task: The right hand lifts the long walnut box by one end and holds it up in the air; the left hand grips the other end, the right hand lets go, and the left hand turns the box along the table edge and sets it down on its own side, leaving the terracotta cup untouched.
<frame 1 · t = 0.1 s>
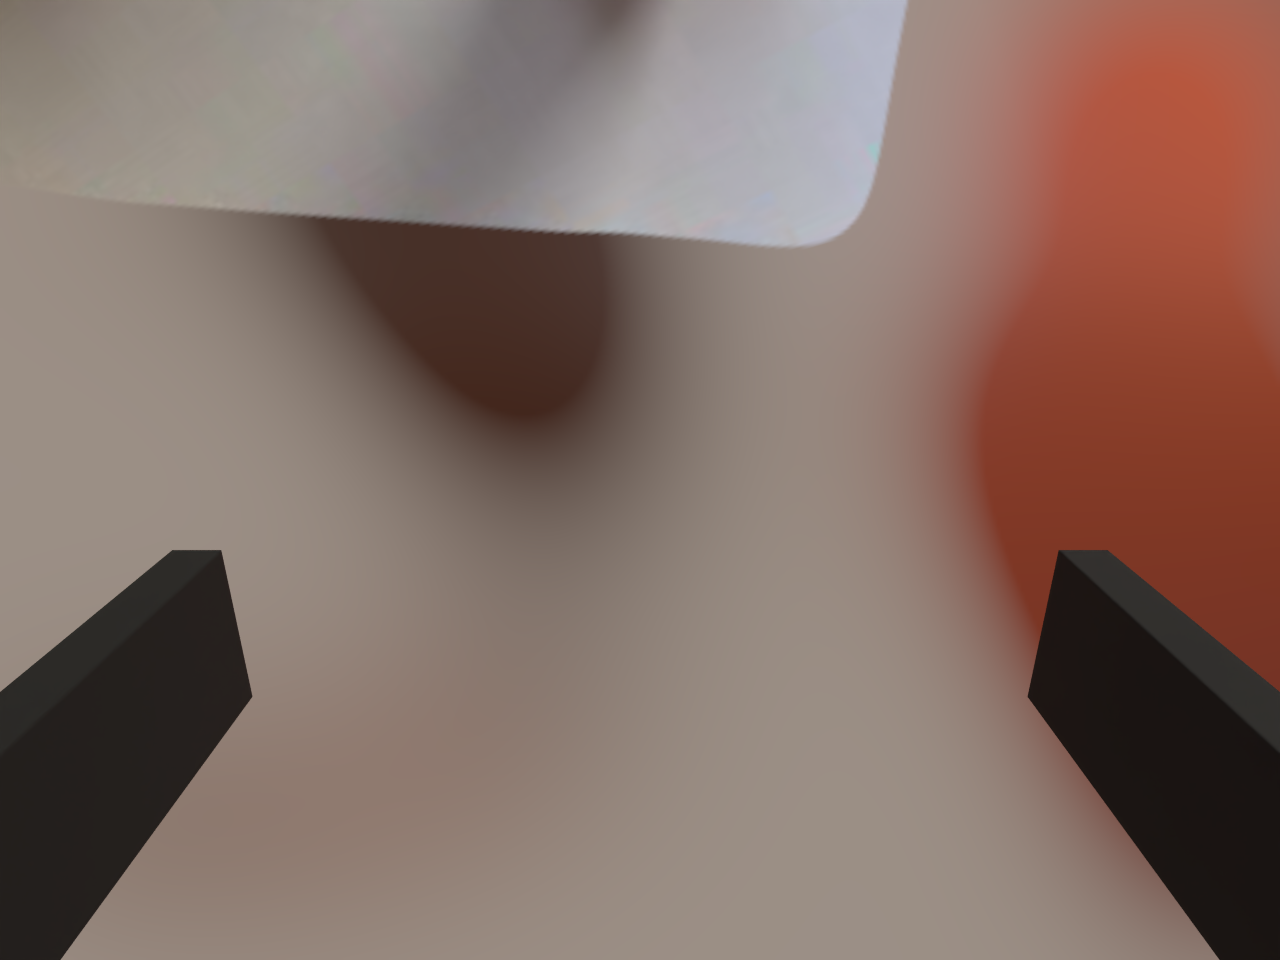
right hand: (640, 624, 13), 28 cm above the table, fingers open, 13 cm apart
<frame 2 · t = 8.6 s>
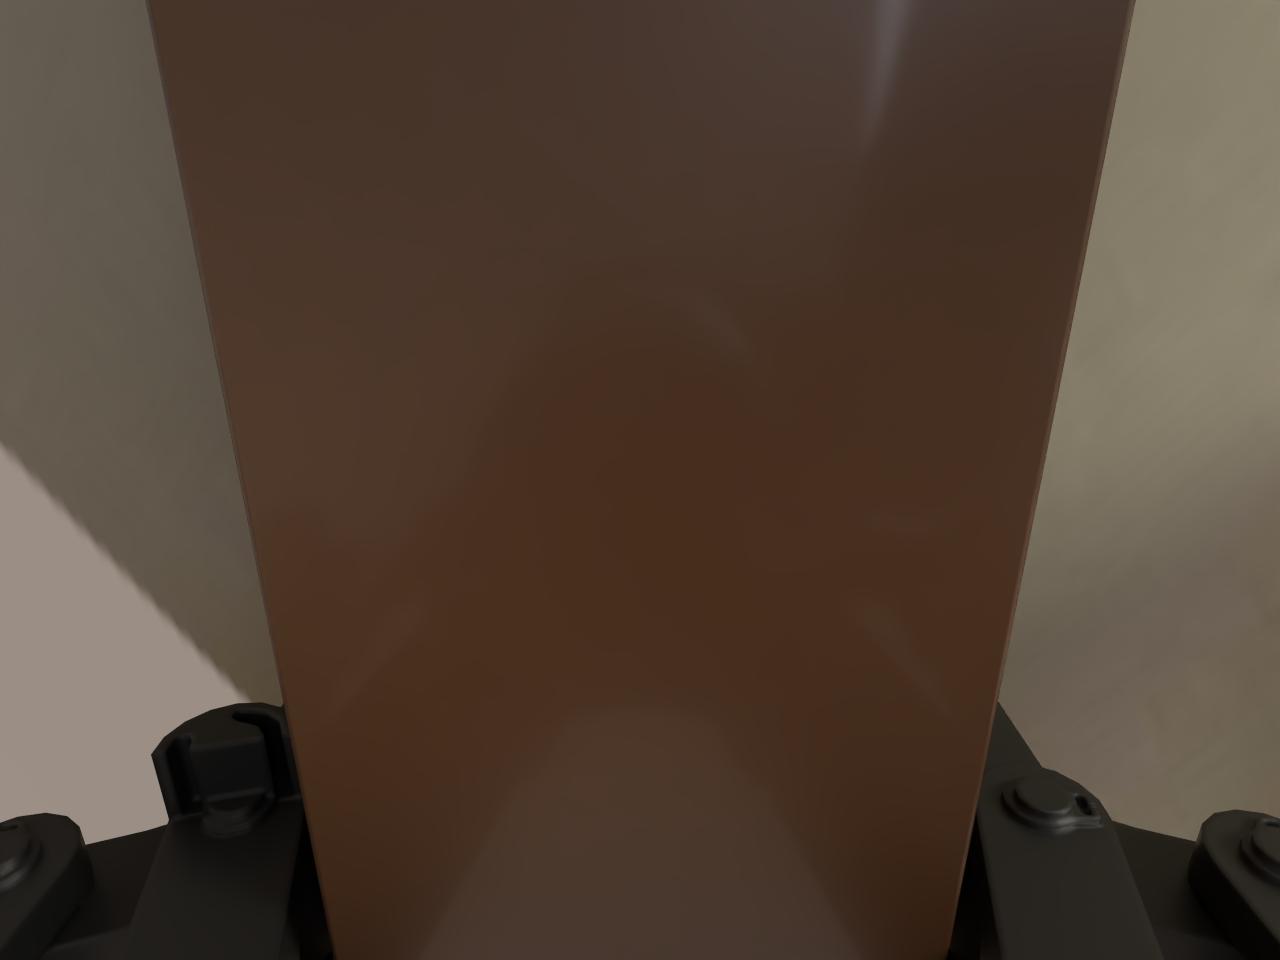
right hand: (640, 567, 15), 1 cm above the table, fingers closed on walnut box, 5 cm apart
walnut box: (640, 47, 12), on the table, touching right hand
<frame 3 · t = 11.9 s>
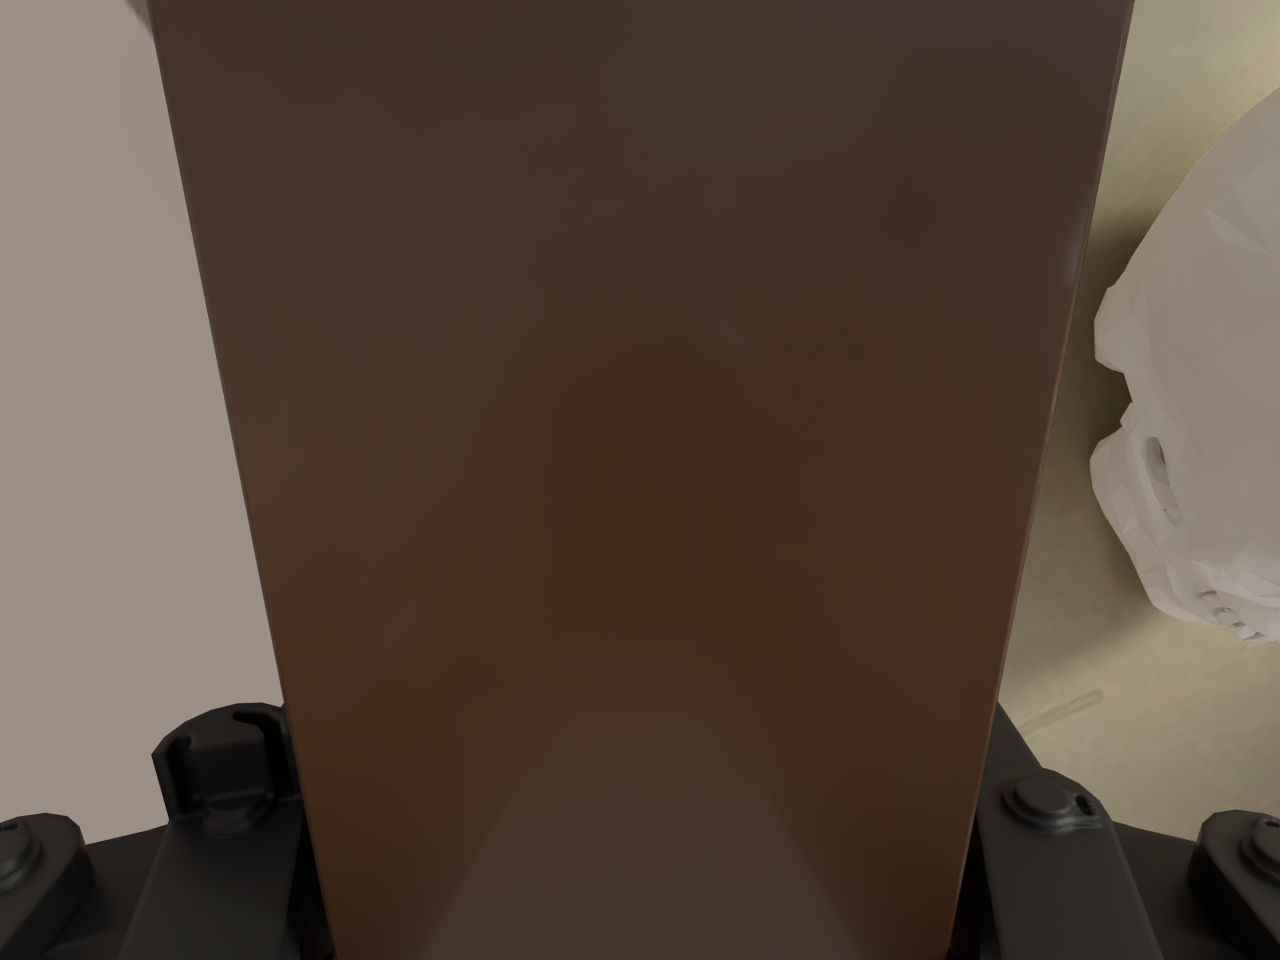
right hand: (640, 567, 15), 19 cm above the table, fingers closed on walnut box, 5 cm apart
skull: (1209, 358, 32), on the table
walnut box: (640, 47, 12), point 18 cm above the table, touching right hand
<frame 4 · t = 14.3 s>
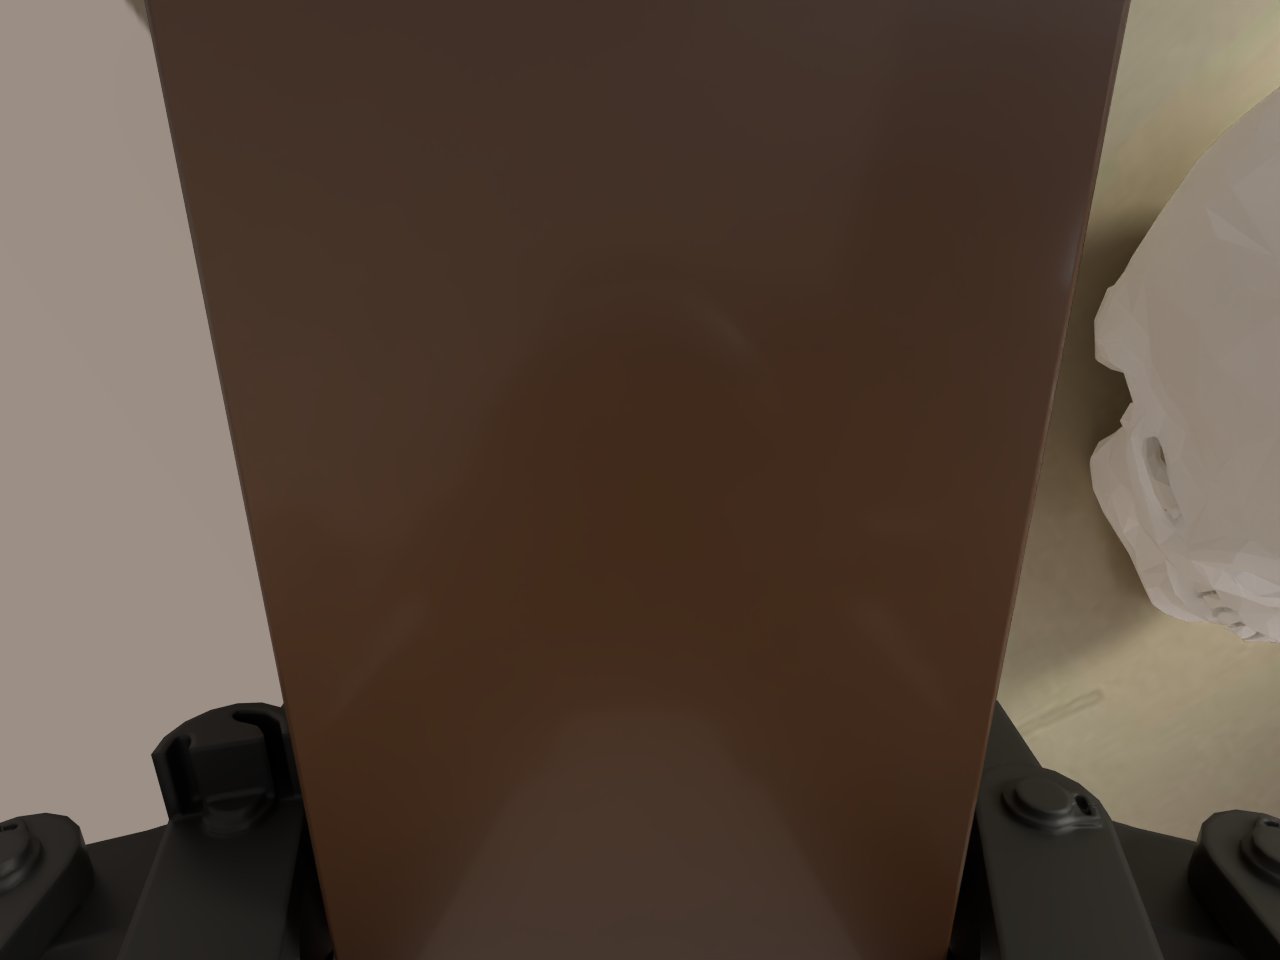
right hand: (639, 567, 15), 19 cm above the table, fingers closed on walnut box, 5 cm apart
skull: (1209, 358, 32), on the table
walnut box: (638, 47, 12), point 18 cm above the table, touching right hand, left hand
when the right hand's fingers open (19 cm above the table, at t = 15.2 s): walnut box stays where it is, held by the left hand.
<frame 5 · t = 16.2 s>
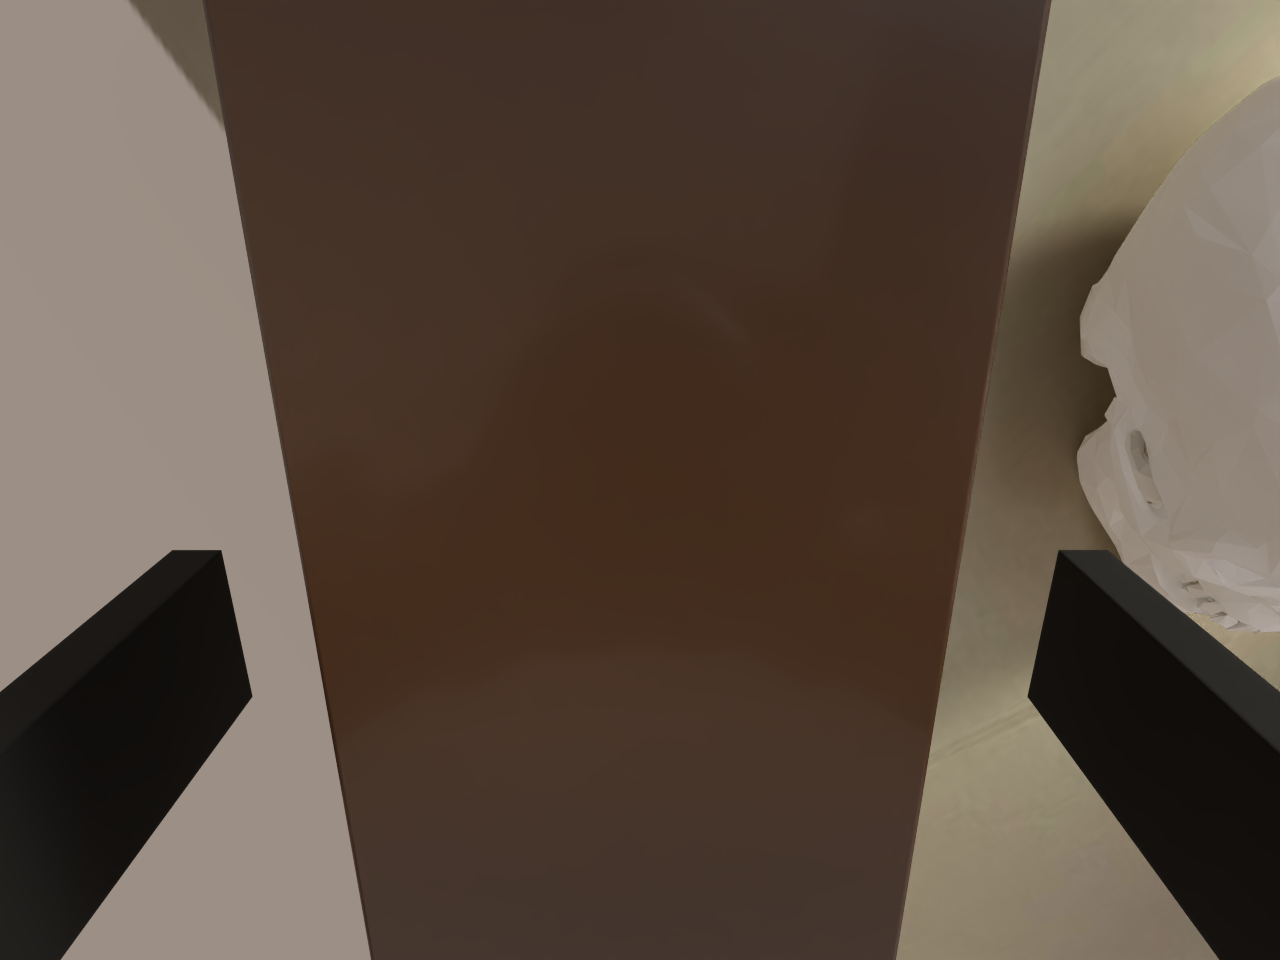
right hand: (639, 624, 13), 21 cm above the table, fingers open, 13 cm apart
skull: (1193, 354, 33), on the table
walnut box: (634, 49, 13), point 18 cm above the table, touching left hand
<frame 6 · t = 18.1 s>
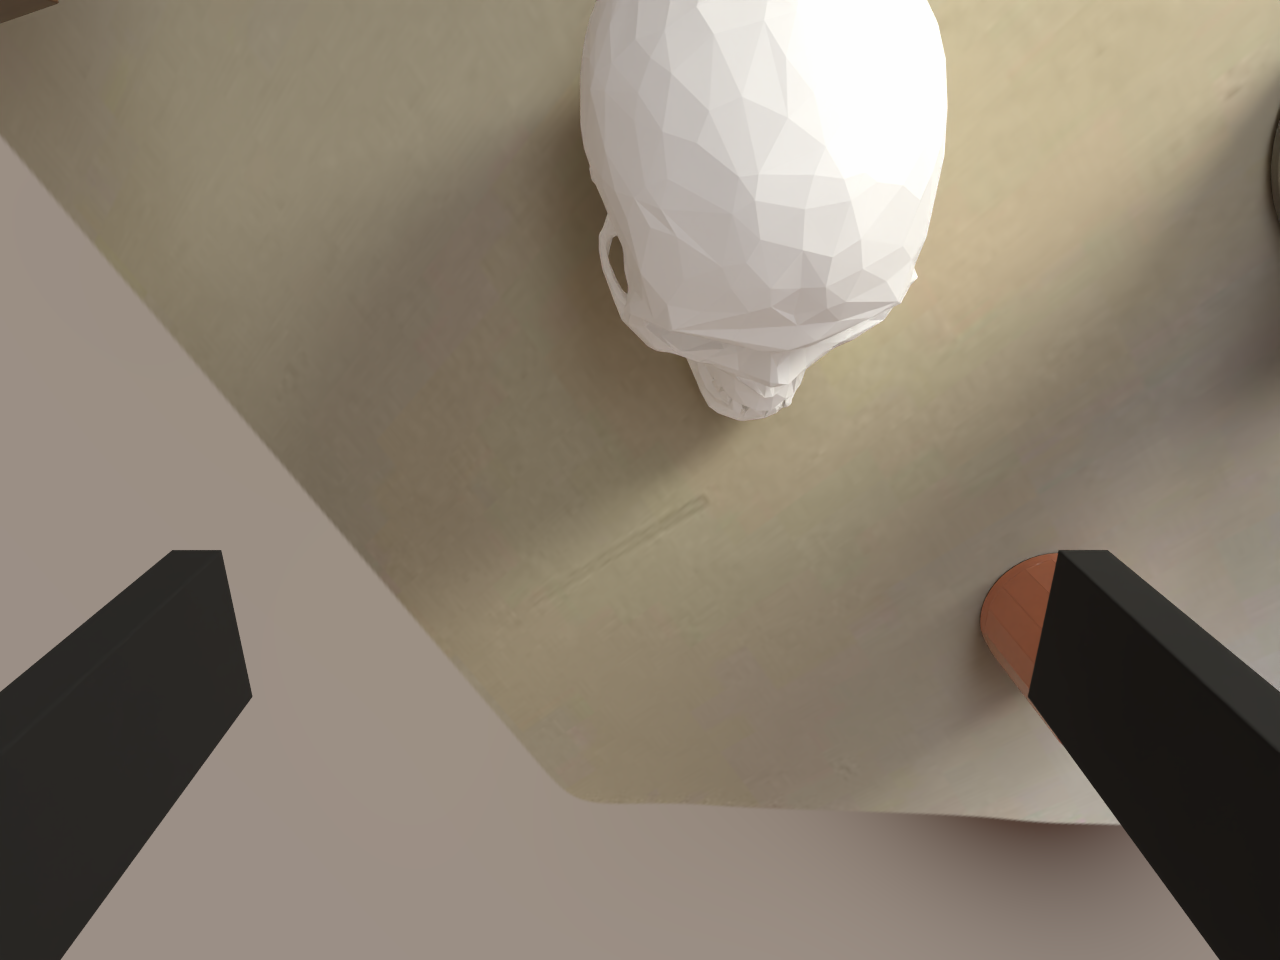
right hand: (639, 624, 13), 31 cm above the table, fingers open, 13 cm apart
skull: (732, 197, 40), on the table
terracotta cup: (1045, 611, 49), on the table
when the left hand's fingers open (2 cm above the table, at t = 21.7 s): walnut box drops 1 cm, on the table.
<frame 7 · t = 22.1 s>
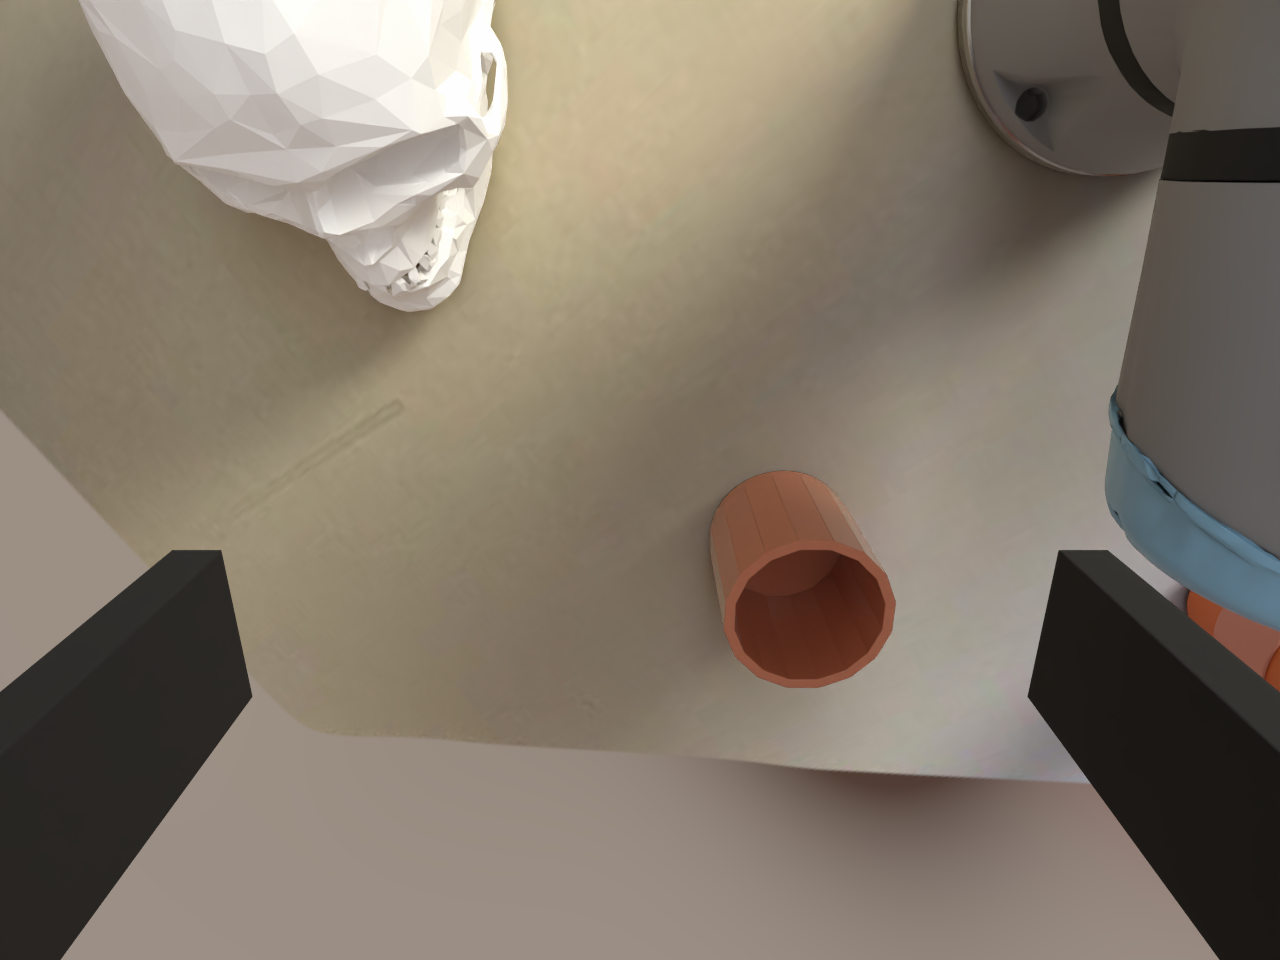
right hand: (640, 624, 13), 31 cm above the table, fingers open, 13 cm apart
skull: (382, 68, 37), on the table
terracotta cup: (778, 535, 46), on the table
cup with straw: (1236, 592, 48), on the table
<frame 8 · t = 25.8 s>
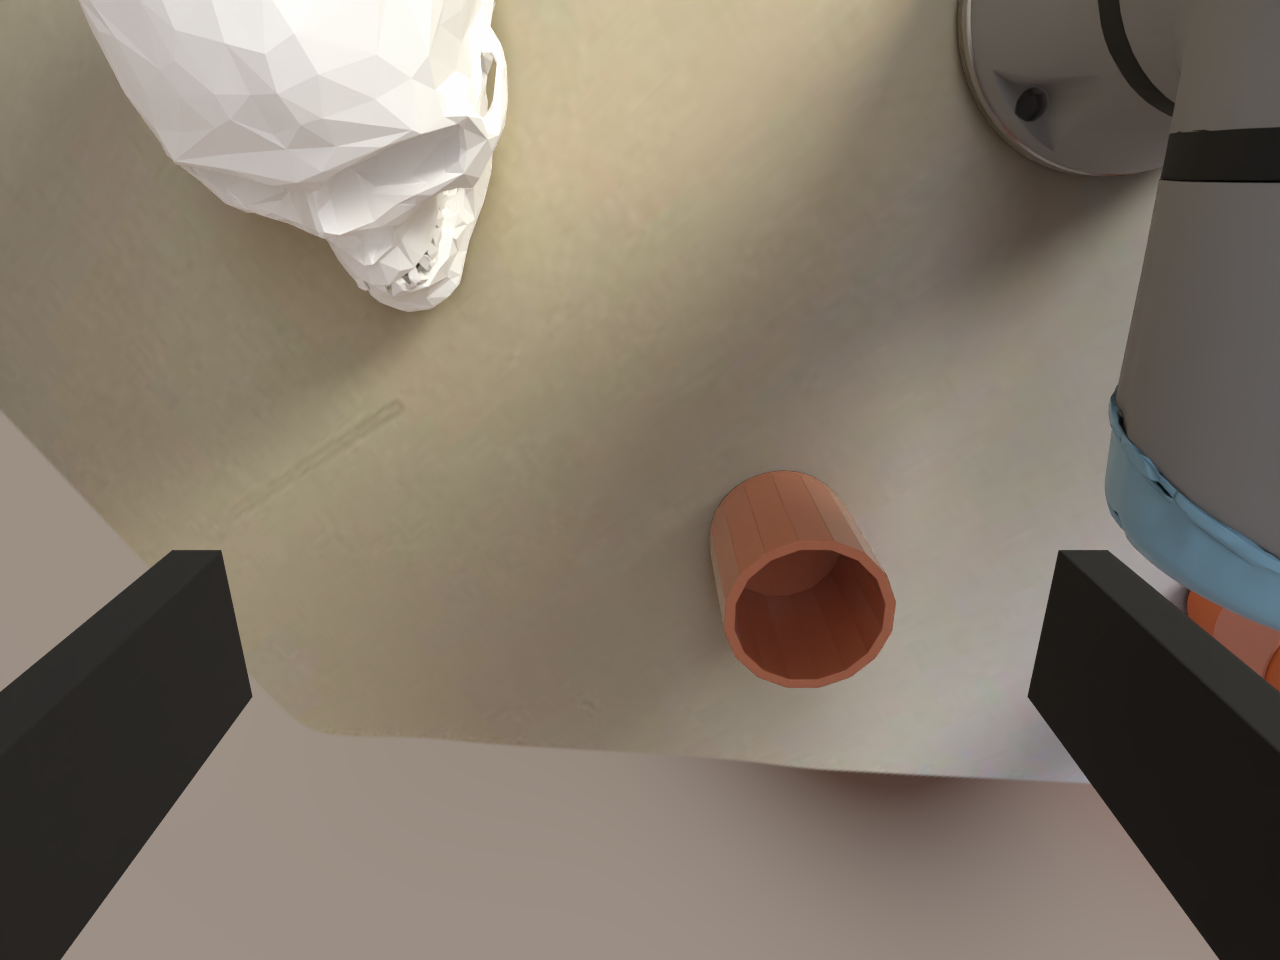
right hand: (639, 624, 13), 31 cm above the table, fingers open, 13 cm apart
skull: (382, 68, 37), on the table
terracotta cup: (778, 535, 46), on the table
cup with straw: (1236, 592, 48), on the table
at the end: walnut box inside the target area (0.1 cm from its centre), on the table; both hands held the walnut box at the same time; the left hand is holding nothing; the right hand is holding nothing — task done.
